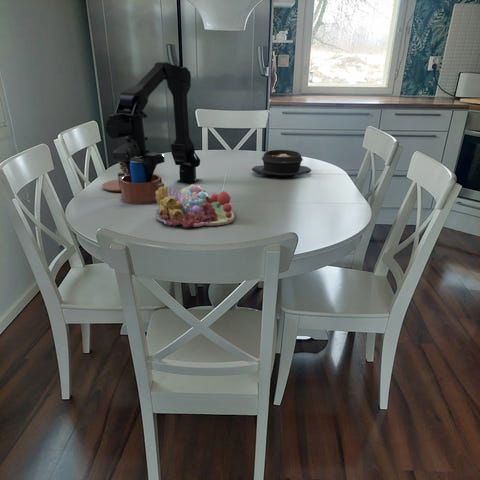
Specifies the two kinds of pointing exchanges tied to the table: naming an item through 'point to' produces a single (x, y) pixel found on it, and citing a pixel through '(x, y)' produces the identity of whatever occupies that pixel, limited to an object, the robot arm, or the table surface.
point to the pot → (139, 190)
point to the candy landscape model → (193, 207)
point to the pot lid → (113, 184)
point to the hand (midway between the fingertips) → (141, 181)
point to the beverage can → (137, 171)
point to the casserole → (281, 164)
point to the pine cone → (124, 168)
